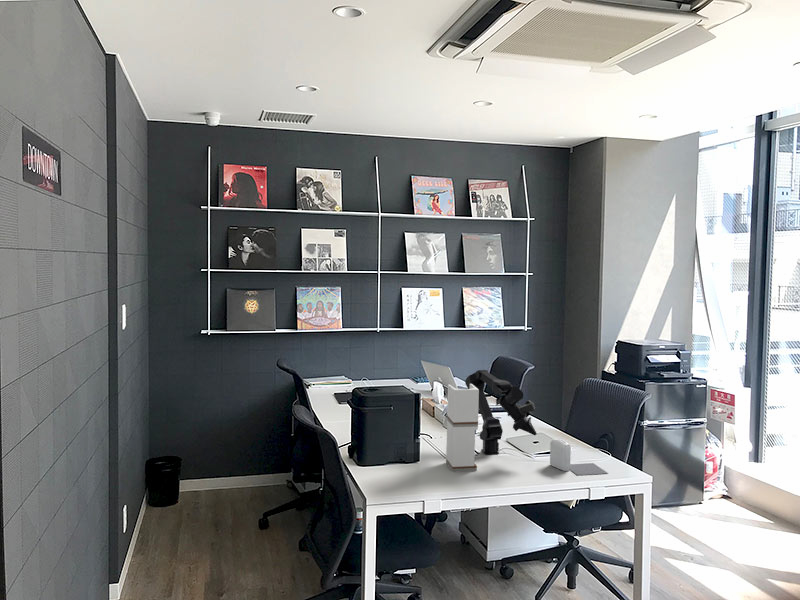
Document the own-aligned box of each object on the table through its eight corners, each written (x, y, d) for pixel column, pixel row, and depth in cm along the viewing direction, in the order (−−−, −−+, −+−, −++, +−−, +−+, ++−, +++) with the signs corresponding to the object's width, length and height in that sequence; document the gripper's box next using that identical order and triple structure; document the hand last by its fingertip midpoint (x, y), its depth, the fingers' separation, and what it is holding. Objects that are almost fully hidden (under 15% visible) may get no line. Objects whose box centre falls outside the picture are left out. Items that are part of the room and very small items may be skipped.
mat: (577, 475, 282) (577, 474, 282) (563, 465, 295) (563, 464, 295) (607, 473, 285) (608, 473, 285) (593, 463, 297) (593, 463, 297)
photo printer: (548, 464, 295) (549, 437, 294) (556, 463, 297) (557, 436, 296) (563, 472, 286) (564, 443, 285) (571, 470, 288) (572, 442, 287)
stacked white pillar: (476, 470, 286) (478, 389, 283) (452, 471, 284) (454, 390, 281) (469, 461, 297) (471, 383, 294) (446, 462, 295) (447, 384, 292)
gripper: (521, 400, 285) (547, 428, 283) (527, 391, 303) (551, 417, 300) (502, 416, 289) (527, 444, 286) (509, 407, 306) (533, 433, 303)
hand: (535, 434), depth 294 cm, fingers closed
